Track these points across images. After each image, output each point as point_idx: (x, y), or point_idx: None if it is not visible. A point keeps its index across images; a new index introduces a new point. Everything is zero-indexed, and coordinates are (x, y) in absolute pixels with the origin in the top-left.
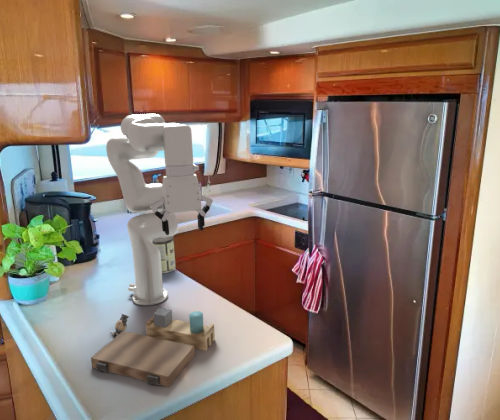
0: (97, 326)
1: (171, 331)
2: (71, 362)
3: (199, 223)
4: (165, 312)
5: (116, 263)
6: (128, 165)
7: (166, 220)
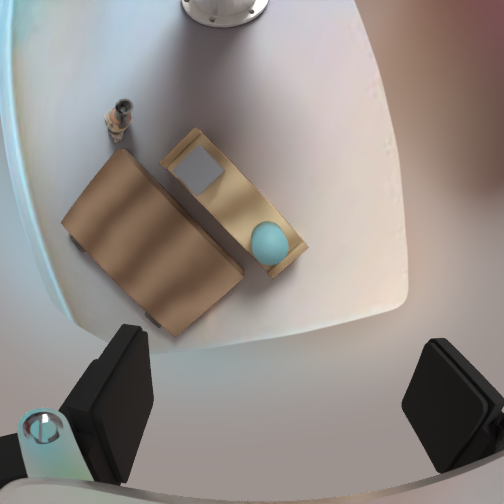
0: (90, 77)
1: (211, 213)
2: (44, 188)
3: (428, 415)
4: (203, 179)
5: None
6: None
7: (106, 475)
